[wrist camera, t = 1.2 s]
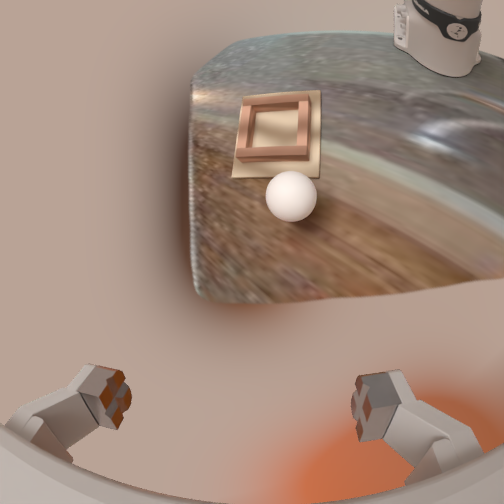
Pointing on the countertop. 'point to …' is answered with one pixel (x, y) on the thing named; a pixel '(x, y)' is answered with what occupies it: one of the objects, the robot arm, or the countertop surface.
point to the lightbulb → (291, 196)
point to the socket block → (278, 135)
